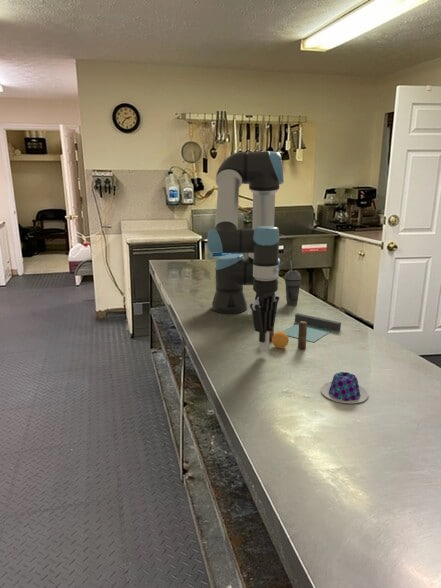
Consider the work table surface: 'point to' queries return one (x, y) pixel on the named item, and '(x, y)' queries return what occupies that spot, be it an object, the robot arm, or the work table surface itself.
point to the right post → (302, 335)
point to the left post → (271, 334)
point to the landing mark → (312, 332)
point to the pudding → (344, 388)
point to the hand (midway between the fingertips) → (264, 350)
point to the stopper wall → (318, 322)
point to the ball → (280, 339)
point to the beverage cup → (292, 286)
